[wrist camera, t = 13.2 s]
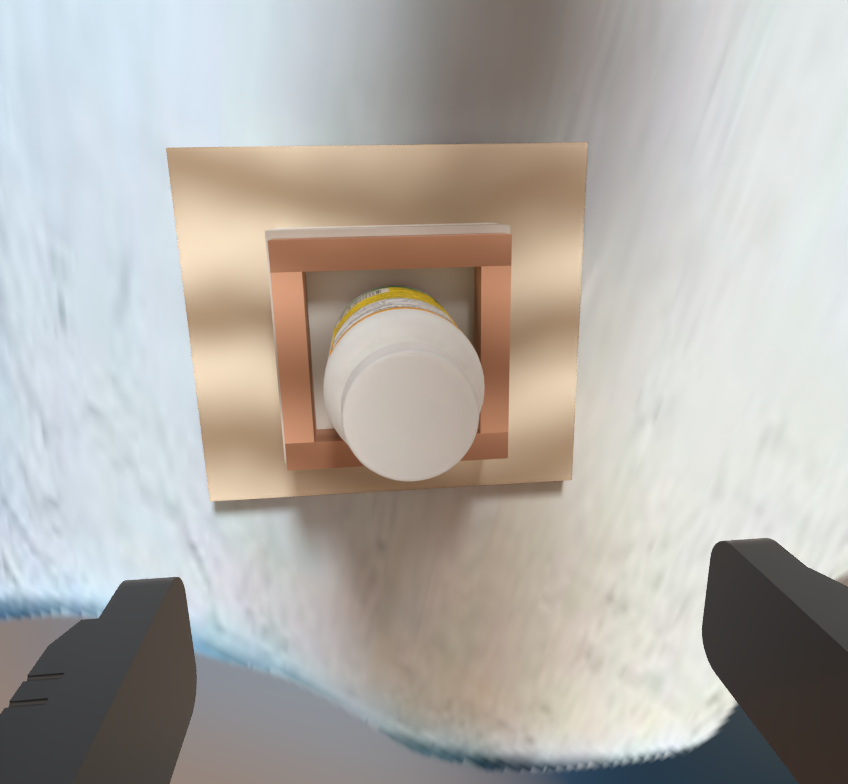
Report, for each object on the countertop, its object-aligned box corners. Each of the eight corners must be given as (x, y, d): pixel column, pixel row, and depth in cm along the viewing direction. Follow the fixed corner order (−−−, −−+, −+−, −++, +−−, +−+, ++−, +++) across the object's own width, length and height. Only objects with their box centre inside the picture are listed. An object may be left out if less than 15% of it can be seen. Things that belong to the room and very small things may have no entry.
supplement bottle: (347, 269, 27) (341, 303, 17) (471, 301, 27) (527, 349, 18) (319, 392, 28) (299, 483, 19) (438, 418, 29) (475, 518, 20)
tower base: (173, 149, 29) (120, 134, 23) (579, 144, 31) (637, 128, 25) (214, 491, 34) (181, 559, 28) (564, 471, 36) (610, 530, 29)
